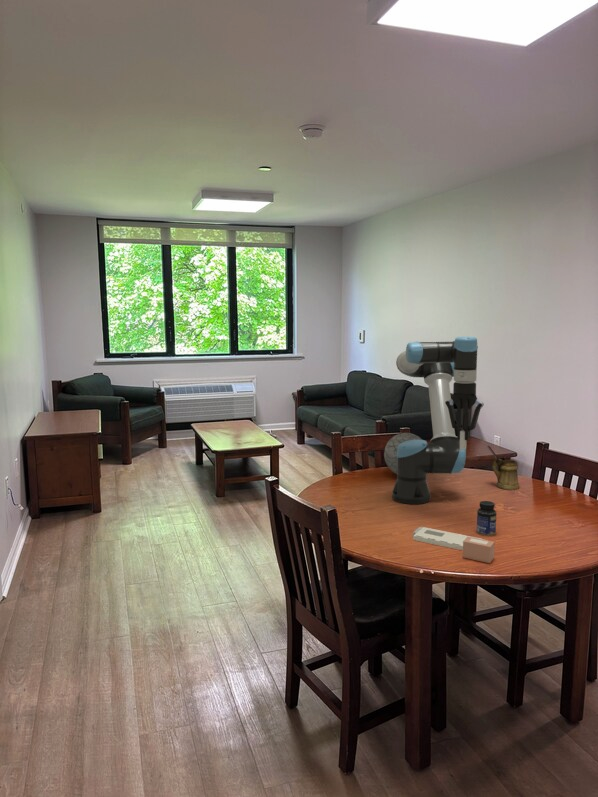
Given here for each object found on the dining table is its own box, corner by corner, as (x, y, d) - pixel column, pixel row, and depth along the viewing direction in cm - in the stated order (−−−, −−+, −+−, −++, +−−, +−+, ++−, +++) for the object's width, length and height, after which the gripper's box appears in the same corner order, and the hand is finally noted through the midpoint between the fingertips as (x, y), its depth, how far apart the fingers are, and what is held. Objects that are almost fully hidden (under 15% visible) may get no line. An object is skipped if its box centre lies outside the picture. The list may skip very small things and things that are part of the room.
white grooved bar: (413, 540, 183) (413, 535, 183) (423, 531, 190) (423, 526, 190) (475, 553, 172) (475, 548, 172) (483, 543, 180) (483, 538, 179)
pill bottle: (493, 539, 185) (494, 507, 183) (474, 536, 188) (475, 504, 186) (497, 533, 190) (498, 501, 188) (479, 530, 193) (480, 498, 192)
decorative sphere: (376, 472, 266) (376, 431, 263) (412, 468, 273) (412, 427, 271) (398, 483, 248) (399, 439, 245) (436, 478, 255) (437, 435, 252)
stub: (462, 557, 169) (463, 541, 169) (467, 552, 173) (467, 536, 172) (489, 563, 165) (490, 546, 164) (494, 557, 169) (494, 541, 168)
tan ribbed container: (484, 483, 247) (485, 443, 245) (516, 484, 245) (518, 443, 243) (487, 489, 238) (489, 447, 236) (521, 490, 236) (523, 448, 234)
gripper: (442, 382, 195) (441, 448, 198) (480, 384, 188) (478, 453, 191) (449, 379, 201) (448, 444, 205) (487, 381, 194) (484, 448, 197)
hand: (462, 448), depth 198 cm, fingers closed
